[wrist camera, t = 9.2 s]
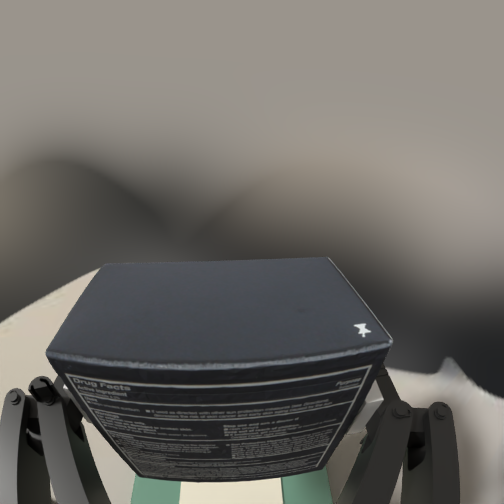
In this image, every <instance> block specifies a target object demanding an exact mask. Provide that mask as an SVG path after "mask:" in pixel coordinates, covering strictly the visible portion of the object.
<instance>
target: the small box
mask: <svg viewBox="0 0 504 504" xmlns="http://www.w3.org/2000/svg"><path fill="white" fill-rule="evenodd" d="M392 344H393V339H392V338H391V336H390V335H389V333H388V332H387V331H386V330H385V329H384V327H383V326H382V324H381V323H380V322H379V321H378V319H377V318H376V317H375V315H374V314H373V313H372V311H371V310H370V309H369V308H368V306H367V305H366V303H365V302H364V301H363V300H362V299H361V297H360V296H359V295H358V293H357V292H356V291H355V289H354V288H353V287H352V285H351V284H350V283H349V282H348V281H347V279H346V278H345V277H344V275H343V274H342V273H341V272H340V271H339V269H338V268H337V267H336V266H335V265H334V263H333V262H332V261H331V260H330V259H329V258H328V257H319V258H293V259H269V260H268V259H266V260H237V261H236V260H235V261H206V262H171V263H168V262H167V263H128V264H105V265H103V266H102V267H101V269H100V270H99V271H98V272H97V273H96V275H95V276H94V277H93V279H92V280H91V281H90V283H89V284H88V286H87V287H86V288H85V290H84V292H83V293H82V295H81V296H80V297H79V299H78V301H77V302H76V304H75V305H74V307H73V308H72V310H71V311H70V313H69V314H68V316H67V317H66V319H65V321H64V322H63V324H62V325H61V327H60V329H59V331H58V332H57V334H56V335H55V337H54V339H53V340H52V342H51V343H50V345H49V346H48V348H47V350H46V352H45V353H46V356H47V358H48V360H49V362H50V364H51V365H52V367H53V369H54V370H55V372H56V373H57V374H58V375H59V376H60V378H61V379H62V381H63V382H64V384H65V386H66V387H67V388H68V390H69V392H71V393H72V395H73V397H74V398H75V400H76V401H77V402H78V404H79V405H80V407H81V409H82V410H83V411H84V412H85V413H86V414H87V416H88V418H89V419H90V420H91V422H92V423H93V425H94V426H95V427H96V428H97V430H98V431H99V432H100V433H101V435H102V436H103V437H104V438H105V439H106V441H107V442H108V443H109V444H110V445H111V446H112V448H113V449H114V450H115V451H116V452H117V453H118V454H119V456H120V457H121V458H122V459H123V460H124V461H125V462H126V463H127V464H128V465H129V466H130V468H131V469H132V470H133V471H134V472H135V473H136V474H137V476H138V477H141V478H149V479H157V480H166V481H180V482H197V483H200V482H241V481H256V480H265V479H273V478H280V477H288V476H293V475H299V474H303V473H309V472H313V471H318V470H322V469H323V468H324V467H325V465H326V464H327V462H328V460H329V458H330V457H331V455H332V454H333V452H334V450H335V449H336V447H337V446H338V444H339V443H340V441H341V440H342V438H343V437H344V434H345V433H346V431H347V430H348V428H349V426H350V425H351V424H352V422H353V420H354V418H355V417H356V416H357V413H358V411H359V409H360V408H361V406H362V404H363V402H364V401H365V399H366V397H367V395H368V393H369V391H370V389H371V387H372V385H373V383H374V381H375V379H376V377H377V375H378V373H379V371H380V369H381V366H382V364H383V362H384V360H385V357H386V356H387V354H388V353H389V351H390V349H391V346H392Z"/></svg>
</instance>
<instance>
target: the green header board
mask: <svg viewBox="0 0 504 504" xmlns="http://www.w3.org/2000/svg"><path fill="white" fill-rule="evenodd" d="M131 504H333V502H332V497H331V491H330V486H329V480H328V475H327V470H326V465H325V467H324V468H323V469H322V470H318V471H313V472H309V473H303V474H299V475H293V476H288V477H280V478H273V479H265V480H256V481H241V482H200V483H197V482H180V481H166V480H157V479H149V478H141V477H138V476H137V474H136V476H135V481H134V486H133V492H132V498H131Z"/></svg>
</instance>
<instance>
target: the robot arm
mask: <svg viewBox="0 0 504 504" xmlns="http://www.w3.org/2000/svg"><path fill="white" fill-rule="evenodd" d="M28 390H29V392H30V393H31V394H32V395H25V393H24V392H23V391H22V390H21V389H18V388H15V389H12V390H10V391H9V392H8V393H7V395H6V397H5V401H4V405H3V410H2V415H1V421H0V504H52V503H51V491H50V480H51V484H52V487H53V491H54V494H55V497H56V500H57V503H58V504H111V502H110V500H109V498H108V495H107V493H106V491H105V488H104V486H103V483H102V481H101V478H100V476H99V473H98V470H97V468H96V465H95V462H94V459H93V456H92V453H91V450H90V447H89V443H88V440H87V436H86V433H85V429H84V426H83V424H82V422H81V421H82V418H83V417H84V418H85V419H86V420H87V422H89V423H92V422H91V420H90V419H89V418H88V416H87V414H86V413H85V412H84V411H83V410H82V409H81V407H80V405H79V404H78V402H77V401H76V400H75V398H74V397H73V395H72V393H71V392H69V390H68V388H67V387H66V386H65V384H64V382H63V381H62V379H61V378H60V376H59V375H58V376H57V378H56V380H55V382H54V384H53V383H52V381H51V380H50V379H49V378H48V377H45V376H39V377H37V378H35V379H34V380H32V381H31V383H30V385H29V389H28ZM92 424H93V423H92ZM365 426H366V429H367V432H368V433H367V434H366V435H365V437H364V438H363V439H362V440H361V442H360V444H362V443H363V444H362V446H361V449H360V452H359V454H358V457H357V459H356V462H355V464H354V466H353V469H352V471H351V473H350V476H349V478H348V480H347V482H346V484H345V487H344V489H343V491H342V493H341V495H340V497H339V499H338V501H337V503H336V504H389V502H390V500H391V497H392V494H393V491H394V488H395V485H396V482H397V479H398V476H399V473H400V469H401V466H402V462H403V477H402V493H401V504H460V479H459V462H458V451H457V442H456V435H455V428H454V421H453V415H452V411H451V409H450V407H449V406H448V405H447V404H445V403H443V402H435V403H433V404H432V405H431V406H430V407H429V408H412V407H411V406H410V405H409V404H408V403H407V402H404V401H402V400H401V399H400V398H399V396H398V393H397V391H396V389H395V387H394V385H393V383H392V380H391V378H390V376H388V372H387V370H386V369H385V366H384V364H382V366H381V369H380V371H379V373H378V375H377V377H376V379H375V381H374V383H373V385H372V387H371V389H370V391H369V393H368V395H367V397H366V399H365V401H364V402H363V404H362V406H361V408H360V409H359V411H358V413H357V416H356V417H355V418H354V420H353V422H352V424H351V425H350V426H349V428H348V430H347V431H346V433H345V434H346V435H349V434H354V433H359V432H362V430H363V429H364V428H365Z"/></svg>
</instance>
